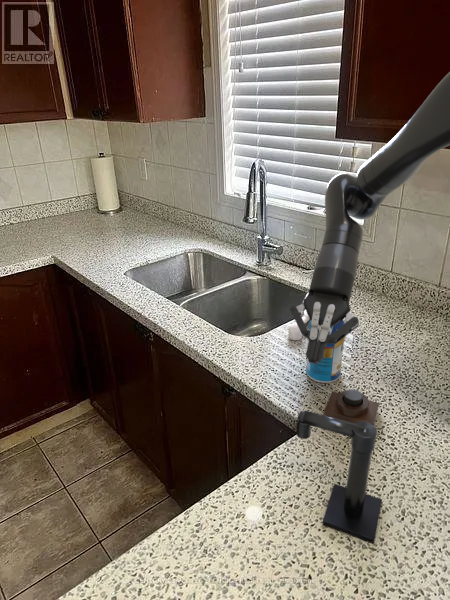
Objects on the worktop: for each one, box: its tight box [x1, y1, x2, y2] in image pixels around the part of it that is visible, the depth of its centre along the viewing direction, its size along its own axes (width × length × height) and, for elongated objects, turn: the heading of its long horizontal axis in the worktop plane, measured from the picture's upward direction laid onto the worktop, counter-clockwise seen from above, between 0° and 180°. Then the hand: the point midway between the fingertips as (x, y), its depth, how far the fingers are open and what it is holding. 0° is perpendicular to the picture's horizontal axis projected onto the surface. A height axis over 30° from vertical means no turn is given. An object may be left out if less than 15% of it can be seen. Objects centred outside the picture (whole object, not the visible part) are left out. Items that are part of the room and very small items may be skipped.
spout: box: [295, 410, 378, 453], centre depth 68 cm, size 12×3×4 cm, turn 65°
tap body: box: [322, 446, 383, 545], centre depth 70 cm, size 8×8×15 cm
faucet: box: [287, 291, 310, 341], centre depth 127 cm, size 4×18×10 cm, turn 153°
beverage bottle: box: [305, 319, 346, 384], centre depth 103 cm, size 8×8×20 cm
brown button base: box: [323, 389, 380, 427], centre depth 94 cm, size 10×7×4 cm
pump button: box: [344, 388, 363, 407], centre depth 93 cm, size 4×4×2 cm
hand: (313, 362), depth 79 cm, fingers closed
